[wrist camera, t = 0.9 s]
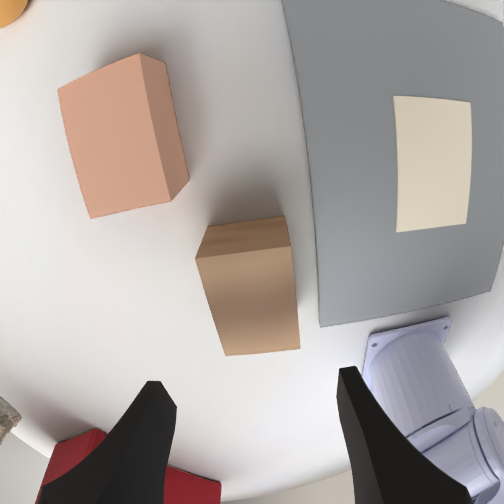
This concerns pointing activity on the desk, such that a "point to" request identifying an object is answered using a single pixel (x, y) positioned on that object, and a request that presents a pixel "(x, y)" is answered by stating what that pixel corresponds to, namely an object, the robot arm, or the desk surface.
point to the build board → (401, 151)
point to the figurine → (11, 11)
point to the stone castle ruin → (7, 418)
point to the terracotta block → (124, 136)
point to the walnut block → (250, 285)
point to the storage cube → (176, 481)
